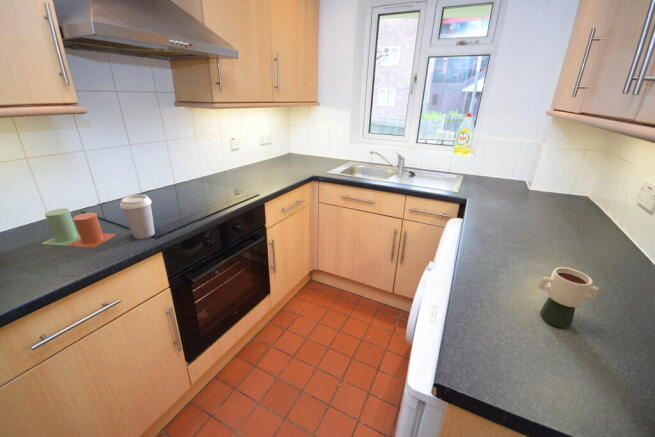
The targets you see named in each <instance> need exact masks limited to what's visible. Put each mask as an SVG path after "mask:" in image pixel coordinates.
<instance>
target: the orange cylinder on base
mask: <svg viewBox="0 0 655 437" xmlns="http://www.w3.org/2000/svg"><path fill="white" fill-rule="evenodd" d="M72 219H73V222H74V225H75V227H76V230H77V232H78V233H79V236H80V239H81V242H82V243H83V244H91V243H95V242H98V241H101V240H102V239H104V235H103V233H104V232H103V229H102V226H101V223H100V220H99V217H98V213H96V212H84V213H79V214H77V215H74V217H72Z"/></svg>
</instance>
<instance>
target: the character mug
mask: <svg viewBox="0 0 655 437" xmlns="http://www.w3.org/2000/svg"><path fill="white" fill-rule="evenodd" d="M546 282H548V284H547V285H546ZM593 283H594V282H593V279H592V278H591V277H590V276H589V275H587V274H586V273H584V272H582V271H579V270H578V269H574V268H571V267H567V266H566V267H565V266H559V267H556V268H555V269H554V270H553V271H552V274H551V276H550V277H547V276H542V278H541V279H540V282H539V285H538V289H540V290H544V291H546V294H547V296H548V297H547V299H546V301H545V302H544V304H543V305H542V307H541V309H540V311H539V315H540V316H541V317H542V318H543V319H544V320H545V321H546V322H548V323H549V324H551V325H553V326H554V327H558V328H562V329H564V328H569V327H570V326H571V325H572V324H573V321H574V316H575V312H576V308H579V307H582V305H583V304H584V303H585V301H586V300H587V299H589V300H594V299H595V298H596V297H597V294H598V292H599V290H600V289H599V287H598V286H595V285H593ZM590 291H591V292H590ZM589 292H590V294H589Z"/></svg>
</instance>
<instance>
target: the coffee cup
mask: <svg viewBox="0 0 655 437" xmlns="http://www.w3.org/2000/svg"><path fill="white" fill-rule="evenodd" d="M152 203H153V201H152V199H151V198H150V197H149V196H148V195H146V194H132V195H128V196H125V197H123V198H122V199H121V201H120V204H119V208H120V209H122V211H123V214H124V215H125V219H126V220H127V223H128V225H129V228H130V230H131V233H132V235H133V238H134V239H137V240H142V239H147V238H150V237H152V236H154V235H155V234H156V233H155V225H154V218H153V210H152Z"/></svg>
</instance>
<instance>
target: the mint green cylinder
mask: <svg viewBox="0 0 655 437" xmlns="http://www.w3.org/2000/svg"><path fill="white" fill-rule="evenodd" d="M44 217H45V219H46V221H47V224H48V226H49V229H50V231H51V234H52V236H53V237H54V239H55V241H56V242H65V241H69V240H72V239H75V238H77V237H78V233H77V232H78V231H77V228H76V225H75V222H74V220H73V216H72V213H71V211H70V209H69V208H66V207H64V208H55V209H51V210H49V211H47V212H45V213H44Z"/></svg>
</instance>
